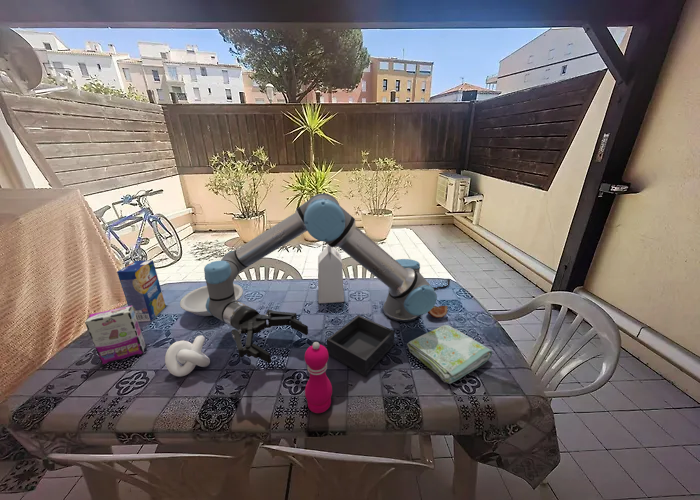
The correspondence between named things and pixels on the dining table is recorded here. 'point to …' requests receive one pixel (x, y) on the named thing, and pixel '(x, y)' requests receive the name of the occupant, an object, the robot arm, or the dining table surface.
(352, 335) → the open box
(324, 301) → the milk
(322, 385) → the pepper mill
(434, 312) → the fruit slice
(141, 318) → the blue cracker box
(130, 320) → the candy bar box
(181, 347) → the white knot sculpture
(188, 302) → the soup bowl
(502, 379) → the dining table surface
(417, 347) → the towel
